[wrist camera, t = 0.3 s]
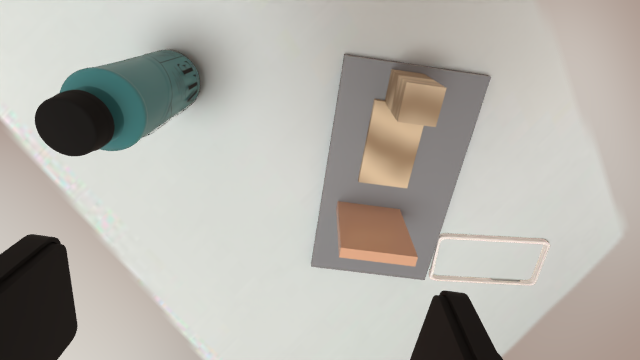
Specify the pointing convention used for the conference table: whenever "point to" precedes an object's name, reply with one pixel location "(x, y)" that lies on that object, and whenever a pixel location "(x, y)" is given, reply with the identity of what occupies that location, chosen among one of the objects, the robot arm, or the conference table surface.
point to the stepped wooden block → (399, 127)
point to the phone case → (497, 239)
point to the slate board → (428, 169)
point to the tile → (374, 234)
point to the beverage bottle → (117, 103)
